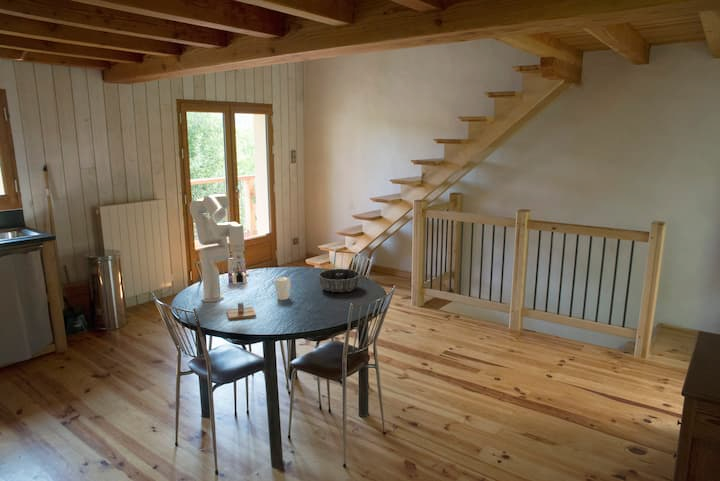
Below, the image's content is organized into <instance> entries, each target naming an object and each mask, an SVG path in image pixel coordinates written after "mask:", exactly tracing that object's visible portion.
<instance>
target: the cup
mask: <svg viewBox="0 0 720 481" xmlns="http://www.w3.org/2000/svg"><path fill="white" fill-rule="evenodd" d="M274 281H275V282H274V286H275V290H276V296H277V299H278V300H280V301H285V300H288V299H290V290H291V278H290V277H288V276H279V277H276V278H275V279H274Z"/></svg>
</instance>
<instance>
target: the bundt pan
mask: <svg viewBox="0 0 720 481" xmlns="http://www.w3.org/2000/svg"><path fill="white" fill-rule="evenodd" d="M317 275H318V278H319V283H320V286H321V288H322V289H323V290H325V291H327V292H329V291H331V292H332V293H333V292H334V293H337V292H340V293H344V292H345V293H346V292H352V291H353V290H352V289H354V290H355V289H357V287H358V285H359V281H360V276H361V273H360V272H359V271H357V270H356V269H349V268H331V269H327V270H323V271H320V273H318V274H317Z"/></svg>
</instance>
